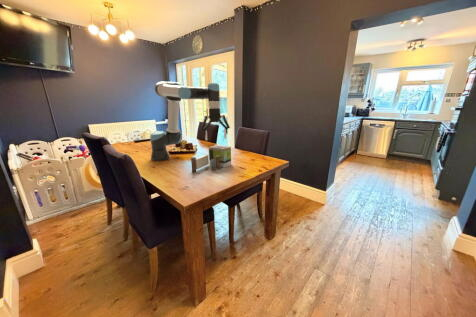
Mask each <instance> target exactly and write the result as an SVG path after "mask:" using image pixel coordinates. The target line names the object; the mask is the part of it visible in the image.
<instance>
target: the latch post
mask: <svg viewBox="0 0 476 317" xmlns="http://www.w3.org/2000/svg"><path fill="white" fill-rule="evenodd" d="M215 157H216V170H221V168H222V167H221V165H220V156H219V155H217V156H215Z"/></svg>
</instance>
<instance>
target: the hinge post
mask: <svg viewBox="0 0 476 317" xmlns="http://www.w3.org/2000/svg"><path fill="white" fill-rule="evenodd" d="M196 158H197V157H195V156H192V157H190V161H191V162H190V163H191V173H192V174H195V173H197V169H196Z"/></svg>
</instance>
